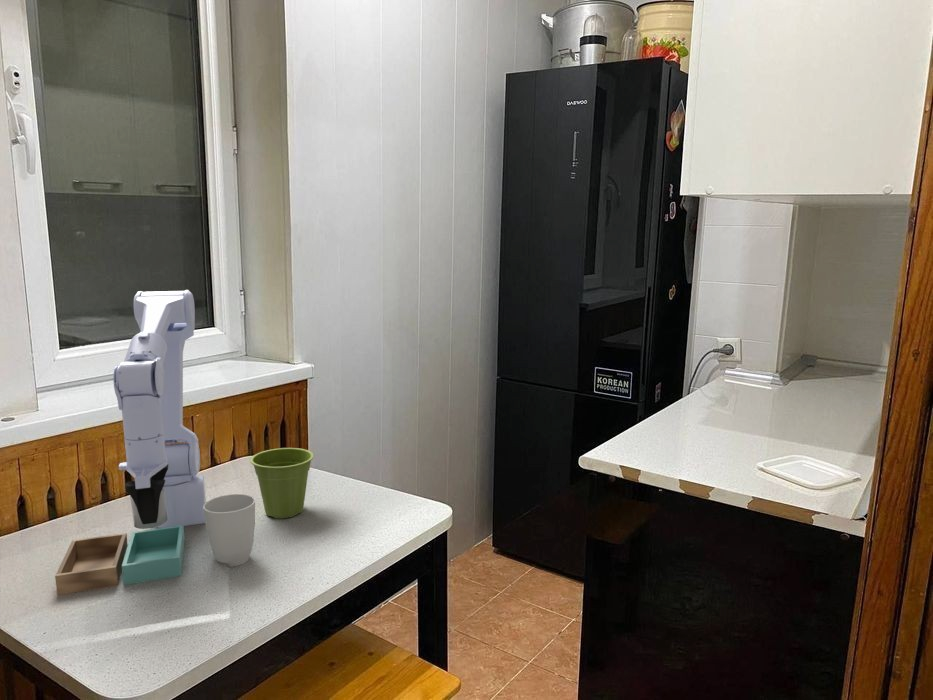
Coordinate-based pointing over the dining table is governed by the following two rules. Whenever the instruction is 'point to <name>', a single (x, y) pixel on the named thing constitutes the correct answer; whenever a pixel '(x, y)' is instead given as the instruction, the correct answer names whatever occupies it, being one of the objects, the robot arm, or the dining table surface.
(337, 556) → the dining table surface
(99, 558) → the walnut bin
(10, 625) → the dining table surface
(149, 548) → the teal bin
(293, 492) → the plant pot
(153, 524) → the white rounded cube
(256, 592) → the dining table surface
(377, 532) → the dining table surface
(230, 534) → the cup
